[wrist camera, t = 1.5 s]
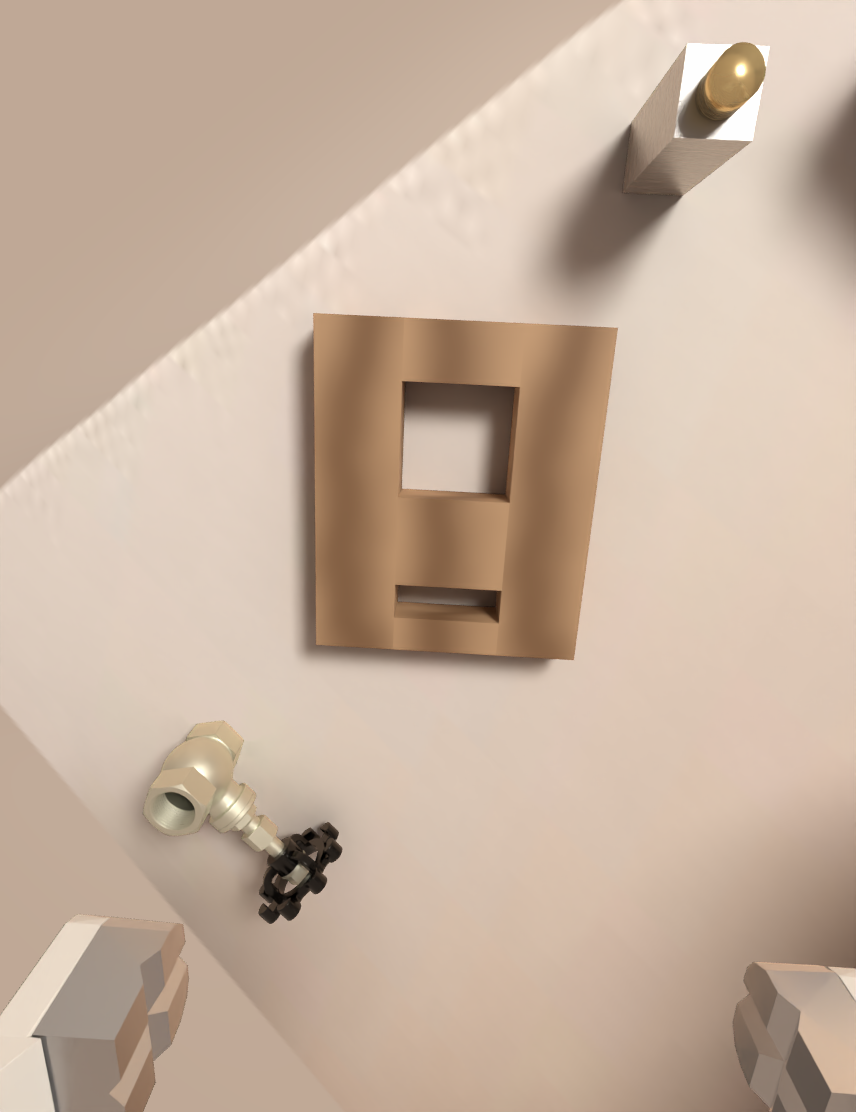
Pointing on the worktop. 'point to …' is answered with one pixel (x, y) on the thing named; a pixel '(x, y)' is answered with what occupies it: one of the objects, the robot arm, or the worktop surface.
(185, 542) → the worktop surface
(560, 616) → the socket block
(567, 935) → the worktop surface
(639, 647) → the worktop surface
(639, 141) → the square bit
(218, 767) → the valve
